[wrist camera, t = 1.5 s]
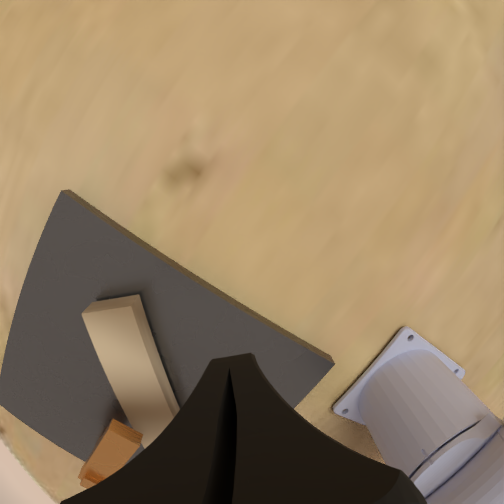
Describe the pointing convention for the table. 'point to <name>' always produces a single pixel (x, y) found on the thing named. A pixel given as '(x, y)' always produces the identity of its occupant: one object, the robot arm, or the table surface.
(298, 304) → the table surface
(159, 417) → the link
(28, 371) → the base plate
